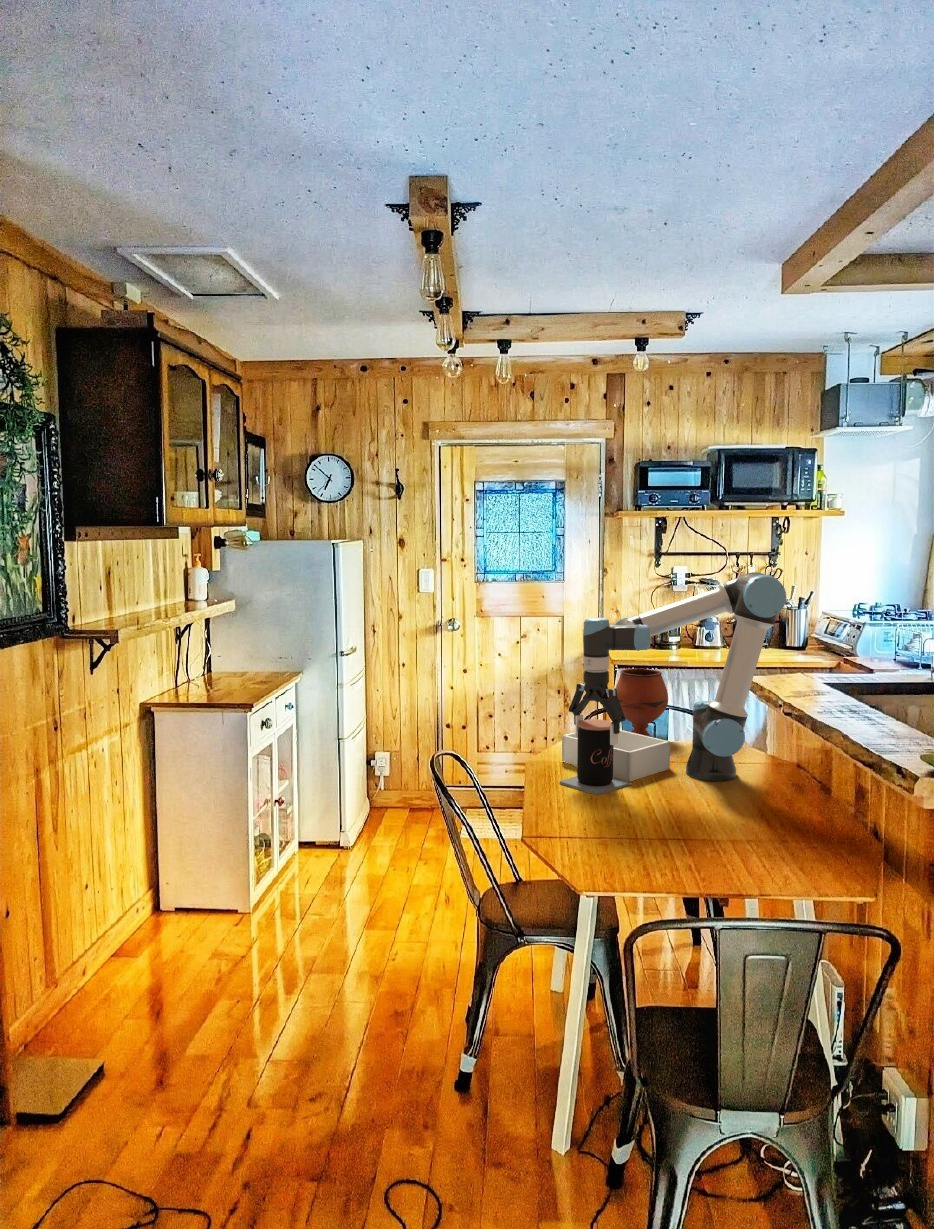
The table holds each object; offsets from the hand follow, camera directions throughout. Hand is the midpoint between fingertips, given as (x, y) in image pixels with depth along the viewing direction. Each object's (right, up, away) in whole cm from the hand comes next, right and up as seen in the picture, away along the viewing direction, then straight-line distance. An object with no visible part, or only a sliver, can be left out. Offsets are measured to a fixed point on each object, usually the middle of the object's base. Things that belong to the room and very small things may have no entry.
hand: (596, 740), depth 263 cm
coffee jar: (0, -13, +2) cm, 13 cm away
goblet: (+24, -8, +55) cm, 60 cm away
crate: (+9, -11, +21) cm, 26 cm away
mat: (0, -14, +2) cm, 14 cm away
